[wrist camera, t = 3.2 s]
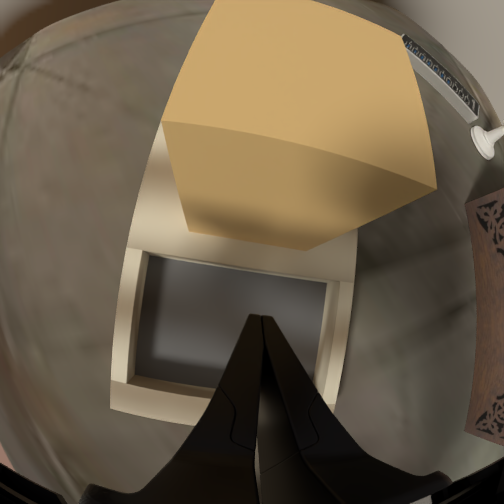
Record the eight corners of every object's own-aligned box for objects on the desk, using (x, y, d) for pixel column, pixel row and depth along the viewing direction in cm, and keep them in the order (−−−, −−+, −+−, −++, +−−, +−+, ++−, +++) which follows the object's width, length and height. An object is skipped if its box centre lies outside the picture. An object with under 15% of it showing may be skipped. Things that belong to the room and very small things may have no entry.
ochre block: (305, 251, 17) (437, 189, 6) (188, 231, 16) (161, 120, 5) (313, 150, 18) (401, 36, 7) (211, 129, 17) (225, -17, 7)
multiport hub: (396, 42, 27) (404, 32, 25) (470, 111, 28) (479, 104, 25) (388, 51, 26) (396, 41, 24) (467, 126, 27) (478, 119, 24)
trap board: (315, 416, 18) (329, 429, 16) (120, 395, 16) (110, 408, 14) (338, 39, 24) (346, 25, 22) (216, 12, 22) (217, -4, 20)
